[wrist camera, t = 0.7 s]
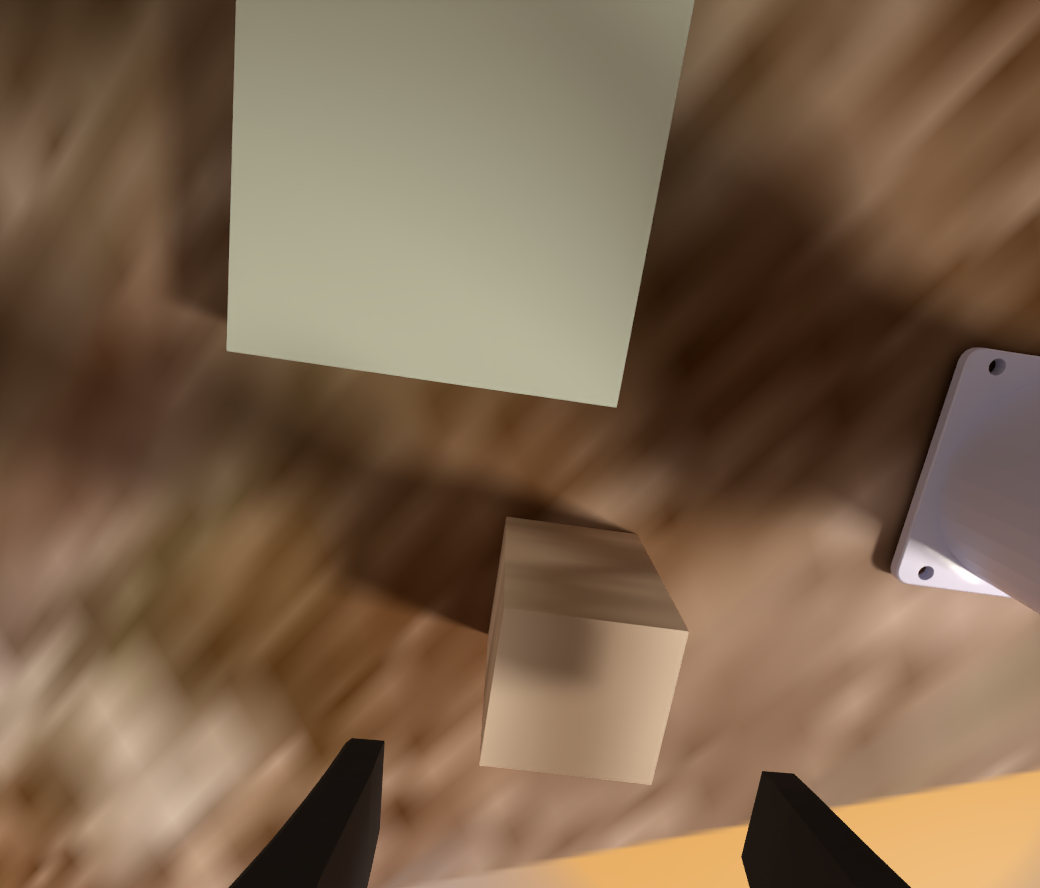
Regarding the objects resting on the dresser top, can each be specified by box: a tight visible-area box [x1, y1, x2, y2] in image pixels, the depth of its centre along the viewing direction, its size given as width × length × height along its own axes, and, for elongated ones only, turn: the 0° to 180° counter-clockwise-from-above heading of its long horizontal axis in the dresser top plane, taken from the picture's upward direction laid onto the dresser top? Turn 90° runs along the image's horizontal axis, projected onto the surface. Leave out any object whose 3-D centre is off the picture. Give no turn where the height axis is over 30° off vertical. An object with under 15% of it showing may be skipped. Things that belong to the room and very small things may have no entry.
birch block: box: [479, 517, 689, 785], centre depth 17 cm, size 4×4×6 cm
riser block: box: [227, 0, 695, 408], centre depth 15 cm, size 10×10×4 cm
